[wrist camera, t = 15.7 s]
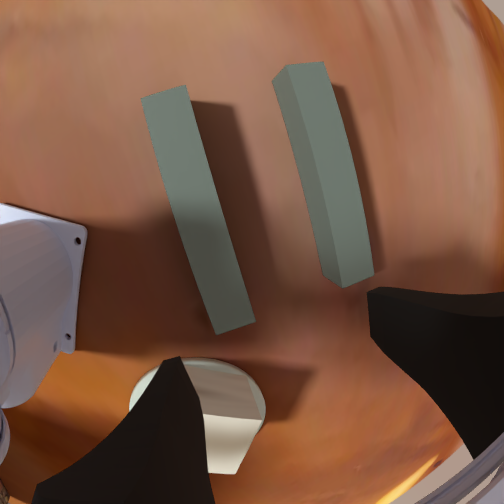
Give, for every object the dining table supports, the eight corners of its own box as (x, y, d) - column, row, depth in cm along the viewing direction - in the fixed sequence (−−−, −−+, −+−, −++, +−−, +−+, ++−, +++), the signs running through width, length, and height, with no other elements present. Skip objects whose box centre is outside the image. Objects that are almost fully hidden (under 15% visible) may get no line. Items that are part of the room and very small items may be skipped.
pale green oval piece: (242, 455, 24) (244, 461, 23) (126, 440, 21) (126, 446, 20) (281, 368, 22) (284, 374, 21) (138, 343, 19) (136, 348, 19)
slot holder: (352, 263, 21) (374, 275, 19) (211, 314, 20) (216, 335, 17) (305, 76, 18) (323, 61, 15) (147, 111, 16) (140, 98, 13)
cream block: (224, 429, 22) (235, 474, 17) (165, 421, 20) (164, 467, 16) (246, 375, 21) (262, 420, 16) (178, 363, 19) (179, 410, 15)
